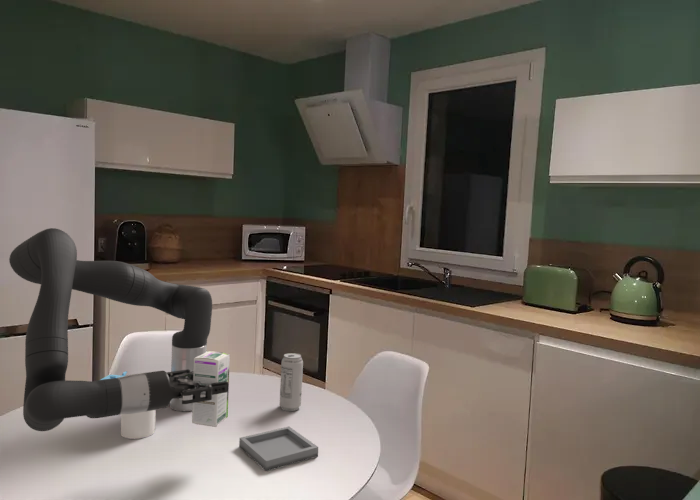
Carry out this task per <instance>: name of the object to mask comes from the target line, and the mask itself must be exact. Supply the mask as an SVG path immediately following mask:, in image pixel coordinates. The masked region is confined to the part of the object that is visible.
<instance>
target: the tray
mask: <svg viewBox="0 0 700 500" xmlns="http://www.w3.org/2000/svg"><path fill="white" fill-rule="evenodd" d="M238 442H239V443H238V445H239V446H238V447H239V448H240V450H242V451H243V452H244V453H245V454H247V456H249V457H250V458H251V459H252V460H253V461H254V462H255V463H256V464H257V465H258V466H259V467H260V468H262V469H263V470H264V471H265V472H268V471H271V470H275V469H279V468H282V467H285V466H289V465H292V464H296V463H299V462H303V461H306V460H311V459H313V458H317V457H319V446H318V445H316V444H315V443H313V442H312V441H310V440H309V439H308V438H306V437H305V436H304V435H302V434H300V433H299V432H298V431H297V430H295V429H293V428H292V427H290V426H284V427H281V428H277V429H271V430H268V431H263V432H258V433H255V434H254V433H253V434H250V435H246V436H242V437H239V441H238Z"/></svg>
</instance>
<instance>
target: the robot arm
mask: <svg viewBox="0 0 700 500" xmlns="http://www.w3.org/2000/svg"><path fill="white" fill-rule="evenodd" d="M77 259H78V250H77V246H76V244H75V241H74V240H73V238H72V237H71V236H70V235H69V233H67V232H65V231H64V230H62V229H59V228H56V227H55V228H51V227H50V228H46V229H44V230H41V231H39V232H37V233H35V234H33V235H32V236H31V237H29V238H27V239H26V240H25V241H22V242H21V243H20V244H19V245H18V244H17V246H16V247H15V248H14V249H13V250H12V251H11V252H10V255H9V259H8V260H9V265H10V267H11V269H12V270H13V272H14V273H15V274H16V275H18V277H20V278H21V279H23V280H25V281H28V282H30V283H32V284H37V285H40V287H39V292H38V296H37V299H36V302H35V305H34V307H33V310H32V313H31V316H30V319H29V321H28V325H27V328H26V333H25V340H24V341H25V347H24V348H25V349H24V350H25V352H24V355H25V356H24V357H25V358H24V362H25V363H24V364H25V376H26V377H25V385H24V394H23V407H22V408H23V410H22V412H23V413H22V416H23V419H24V422H25V423H26V425H27V426H28V427H29V428H30V429H32V430H34V431H37V432H48V431H51V430H53V429H55V428H56V427H58V426H59V425H60V424H61V423H62V422H63V421H64V420H66V419H70V418H78V417H84V416H85V417H87V418H89V419H101V418H108V417H114V416H121V414H134V413H140V412H146V411H152V410H156V411H157V410H162V409H167V408H168V407H170V408H171V409H172V410H174V411H177V412H189V411H190V412H192V405H193V403H196V402H202V401H209V400H211V399H212V395H214V394H220V393H226V392H228V387H229V388H230V386H229V385H230V382H229V383H228V382H226V381H224V382H217V383H211V384H206V383H201V382H200V381H194V380H193V370H194V358H195V357H198V356H200V355H202V354H204V353H205V352H207V349H208V338H209V335H210V333H211V325H212V314H213V299H212V294H211V293H210V291H208V289H206V288H204V287H200V286H193V285H187V284H178V283H171V282H168V281H163V280H160V279H158V278H156V277H155V275H153V273H150V272H149V271H147V270H145V269H143V268H141V267H138V266H136V265H132V264H130V263H127V262H124V261H117V260H77ZM73 290H74V291H78V292H82V293H86V294H90V295H93V296H97V297H102V298H105V299H109V300H110V301H114V302H118V303H122V304H126V305H130V306H135V307H137V306H138V307H149V308H154V309H157V311H158V310H159V311H162V312H163V313H166V314H168V315H170V316H172V317H175V318H177V319H181V320H182V319H183V320H184V324H183V329H182V330H180V331H176V332H175V333H173V335H172V337H171V363H170V364H171V365H170V366H171V368H170V369H171V370H170V371H165V370H157V371H156V370H155V371H149V372H140V373H133V374H128V375H127V374H126V376H123V377H119V378H112V379H104V380H101V379H99V380H98V379H97V380H94V381H89V380H88V381H87V380H66V373H67V369H68V366H69V334H68V333H69V332H68V330H69V329H68V328H69V325H68V324H69V312H70V305H71V297H72V292H73ZM195 387H196V389H195ZM201 387H203V388H201ZM202 392H205V393H202Z"/></svg>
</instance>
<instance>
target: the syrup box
mask: <svg viewBox="0 0 700 500" xmlns="http://www.w3.org/2000/svg"><path fill="white" fill-rule="evenodd" d="M230 357H231V355H230V353H226V352H221V351H213V350H212V351H207V352H205V353H204V354H202V355H200V356H198V357H195V358H194V370H193V380H194V381H200V382H201V383H206V384H211V383H217V382H224V381H226V382H228V383H229V384H230V359H231V358H230ZM201 388H203V387H201ZM229 388H230V386H229V387H228V392H226V393H220V394H214V395H212V399H211V400H209V401H202V402H196V403H193V405H192V411H191V422H192V424H194V425H200V426H206V427H214V428H217V427H218V425H220V424H221V423H222V422H224V420H226V419H228V416H229V393H230V392H229V391H230V390H229ZM195 389H196V387H195ZM202 393H205V392H202Z"/></svg>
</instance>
